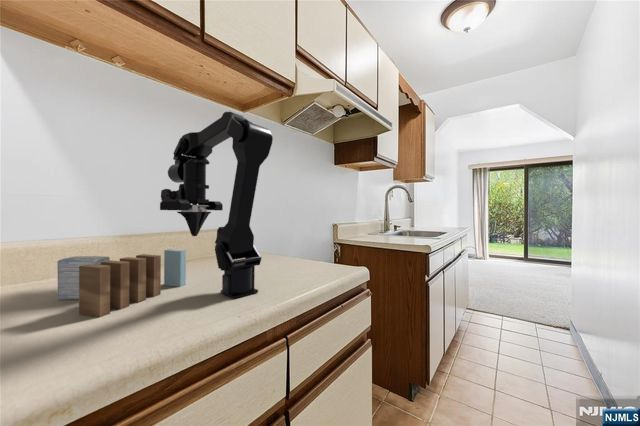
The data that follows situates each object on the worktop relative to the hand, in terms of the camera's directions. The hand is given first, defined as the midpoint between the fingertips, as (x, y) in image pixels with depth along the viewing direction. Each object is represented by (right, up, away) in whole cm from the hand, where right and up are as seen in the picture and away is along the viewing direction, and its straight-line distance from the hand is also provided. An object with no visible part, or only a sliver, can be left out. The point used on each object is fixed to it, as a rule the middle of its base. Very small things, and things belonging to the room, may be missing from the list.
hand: (194, 236), depth 74 cm
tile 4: (-5, -12, -22) cm, 26 cm away
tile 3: (-5, -12, -18) cm, 22 cm away
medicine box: (-16, -12, -16) cm, 26 cm away
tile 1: (-2, -12, -7) cm, 14 cm away
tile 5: (-6, -12, -25) cm, 29 cm away
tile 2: (-4, -12, -14) cm, 19 cm away
